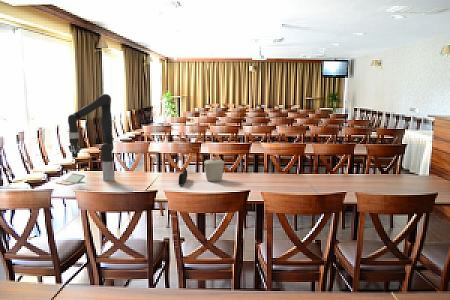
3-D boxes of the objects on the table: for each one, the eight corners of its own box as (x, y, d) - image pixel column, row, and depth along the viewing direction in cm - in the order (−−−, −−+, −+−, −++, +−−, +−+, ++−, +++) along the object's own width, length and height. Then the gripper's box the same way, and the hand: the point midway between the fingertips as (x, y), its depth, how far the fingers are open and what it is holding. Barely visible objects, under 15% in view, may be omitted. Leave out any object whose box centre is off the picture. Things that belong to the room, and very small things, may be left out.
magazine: (181, 176, 331) (186, 160, 359) (177, 176, 331) (183, 160, 359) (183, 194, 338) (187, 177, 366) (179, 194, 339) (184, 177, 366)
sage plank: (85, 176, 350) (84, 175, 349) (76, 184, 343) (76, 182, 342) (73, 174, 358) (72, 173, 357) (65, 181, 352) (64, 180, 351)
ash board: (75, 184, 342) (75, 182, 342) (67, 186, 336) (67, 184, 335) (63, 182, 351) (63, 180, 351) (55, 183, 344) (55, 181, 344)
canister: (207, 178, 370) (207, 155, 367) (226, 179, 366) (226, 155, 363) (201, 182, 353) (201, 158, 350) (221, 183, 348) (221, 158, 345)
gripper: (82, 137, 348) (83, 157, 350) (72, 136, 356) (73, 156, 358) (75, 138, 342) (76, 158, 344) (65, 137, 350) (66, 157, 352)
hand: (74, 157), depth 351 cm, fingers open, 3 cm apart
